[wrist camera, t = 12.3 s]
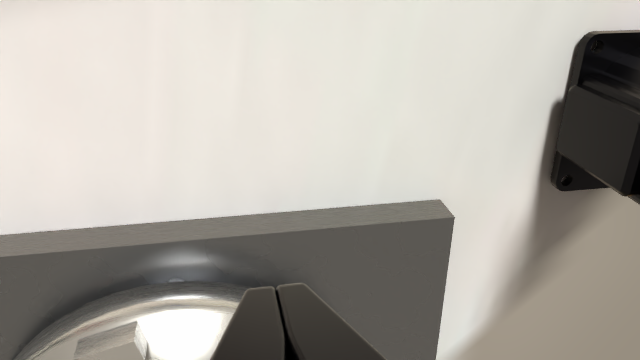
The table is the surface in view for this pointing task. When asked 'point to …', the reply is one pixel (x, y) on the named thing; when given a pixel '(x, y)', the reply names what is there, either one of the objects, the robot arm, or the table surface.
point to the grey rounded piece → (142, 324)
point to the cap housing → (247, 267)
